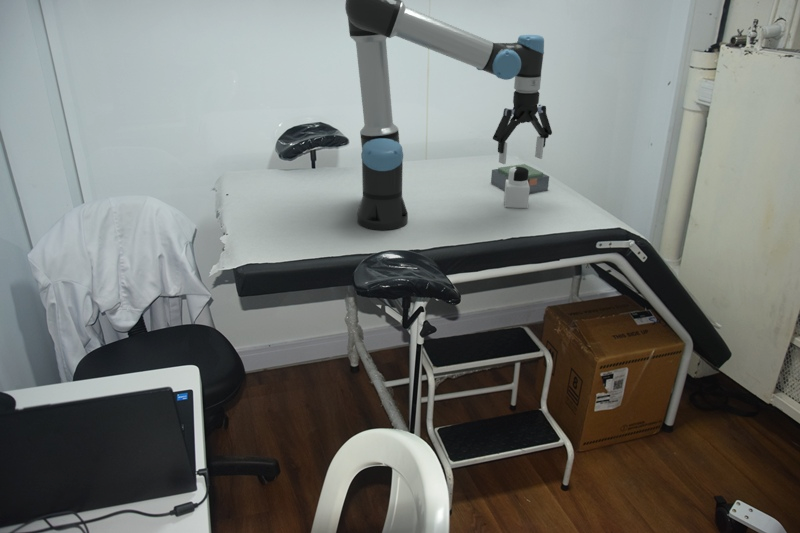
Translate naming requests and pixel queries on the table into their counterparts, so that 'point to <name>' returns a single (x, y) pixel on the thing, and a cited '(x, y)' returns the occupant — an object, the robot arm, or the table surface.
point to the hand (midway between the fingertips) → (520, 160)
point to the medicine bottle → (517, 188)
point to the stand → (535, 178)
